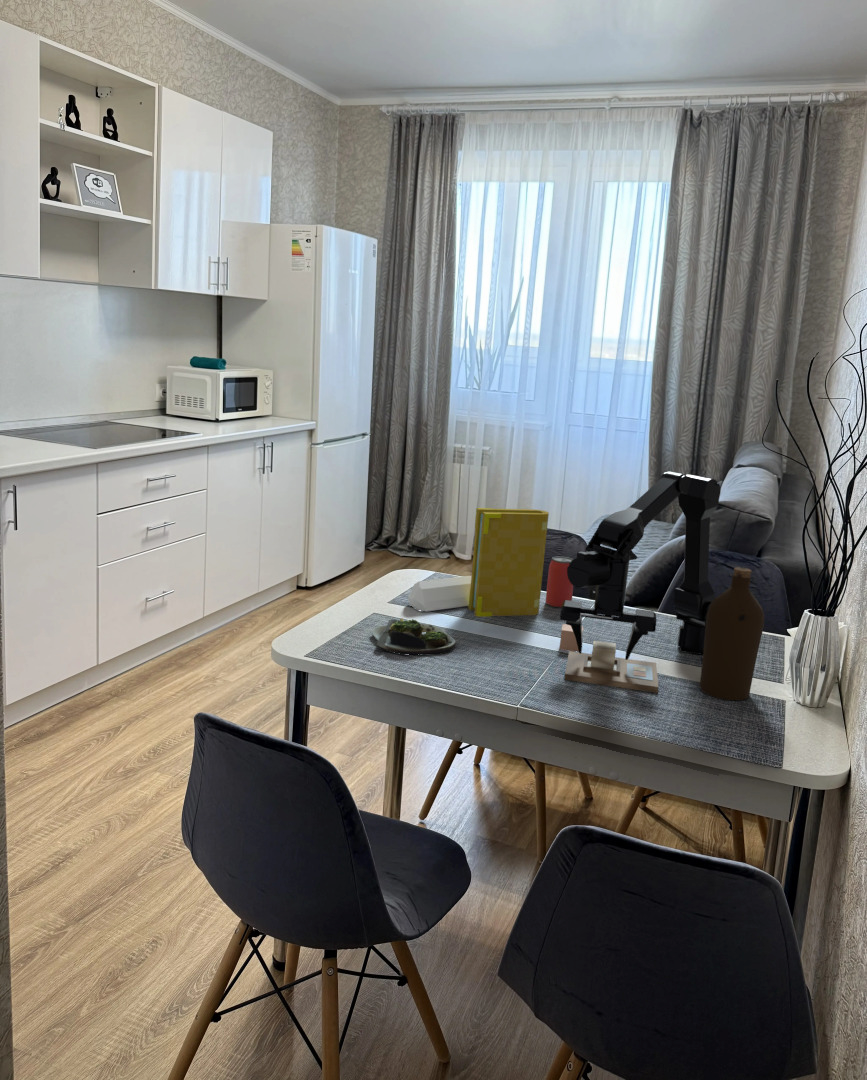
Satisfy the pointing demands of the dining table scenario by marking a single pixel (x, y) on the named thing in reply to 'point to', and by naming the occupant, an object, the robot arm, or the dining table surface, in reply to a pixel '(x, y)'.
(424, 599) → the crystal
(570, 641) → the terracotta block
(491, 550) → the book
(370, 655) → the dining table surface
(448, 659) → the dining table surface
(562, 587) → the beer can
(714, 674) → the olive oil
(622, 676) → the board
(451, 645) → the salad plate
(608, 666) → the birch block
